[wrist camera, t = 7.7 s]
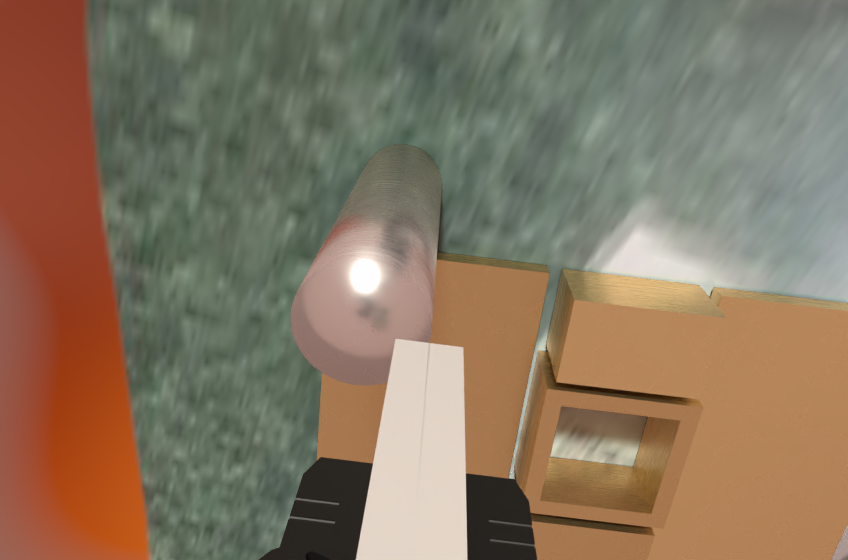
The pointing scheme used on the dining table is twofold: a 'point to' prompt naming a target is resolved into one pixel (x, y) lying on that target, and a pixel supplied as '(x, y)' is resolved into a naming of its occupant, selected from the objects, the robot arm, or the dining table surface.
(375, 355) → the pin
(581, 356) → the hinge flap with knuckles
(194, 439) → the dining table surface
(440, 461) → the robot arm
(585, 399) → the fixed leaf
